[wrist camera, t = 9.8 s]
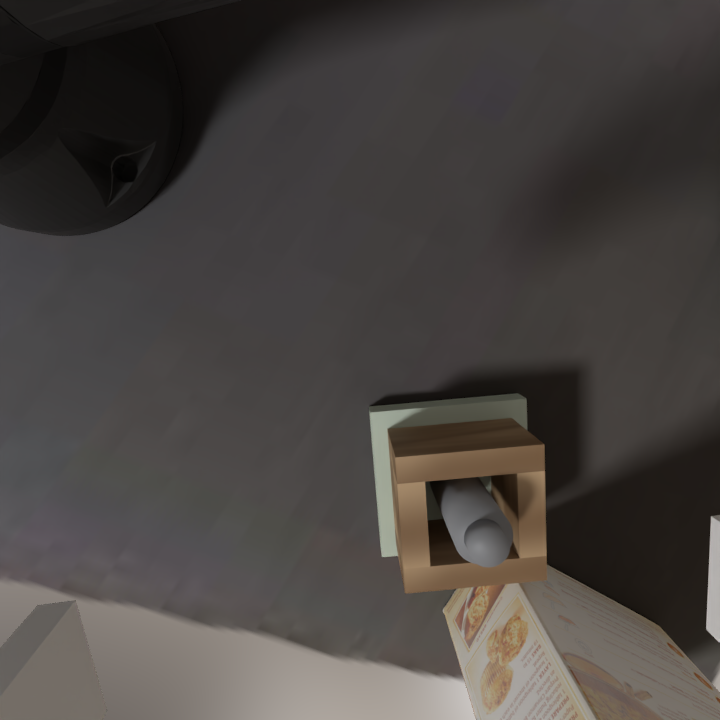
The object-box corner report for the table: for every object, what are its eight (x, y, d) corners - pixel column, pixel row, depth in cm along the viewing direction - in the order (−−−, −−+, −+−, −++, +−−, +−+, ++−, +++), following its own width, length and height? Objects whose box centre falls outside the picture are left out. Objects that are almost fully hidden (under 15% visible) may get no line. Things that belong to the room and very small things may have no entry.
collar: (387, 428, 30) (395, 457, 25) (511, 417, 30) (544, 444, 25) (396, 544, 31) (405, 593, 26) (515, 533, 31) (546, 580, 26)
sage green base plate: (368, 406, 31) (378, 459, 22) (518, 393, 31) (591, 440, 22) (380, 544, 33) (393, 649, 23) (522, 531, 33) (592, 630, 23)
